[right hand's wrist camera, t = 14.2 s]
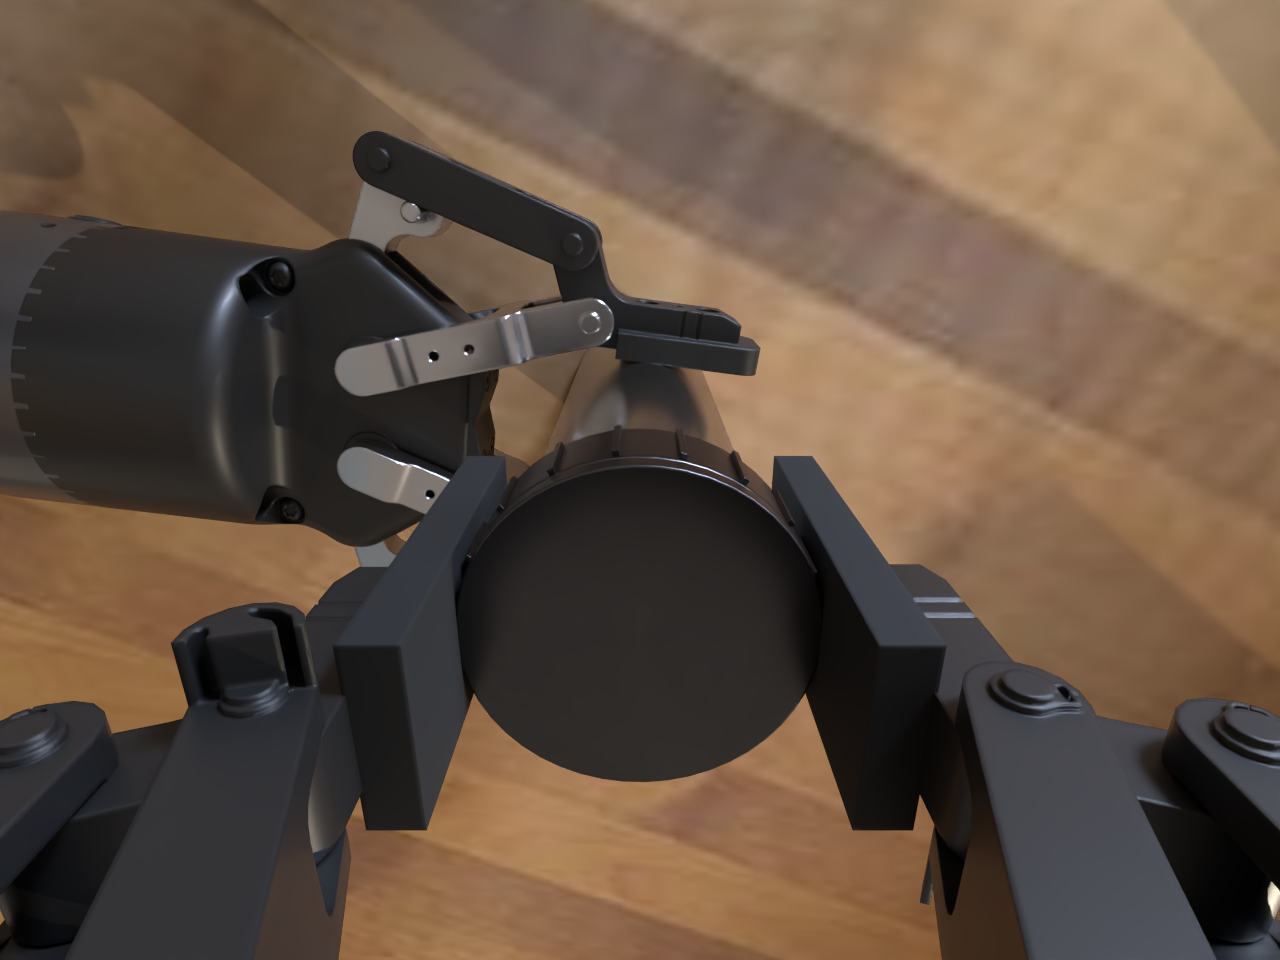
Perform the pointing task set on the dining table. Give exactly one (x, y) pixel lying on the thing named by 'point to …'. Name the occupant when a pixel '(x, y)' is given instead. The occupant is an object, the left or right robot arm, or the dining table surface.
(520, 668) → the lid
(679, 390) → the silver cylindrical piece
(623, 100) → the dining table surface
